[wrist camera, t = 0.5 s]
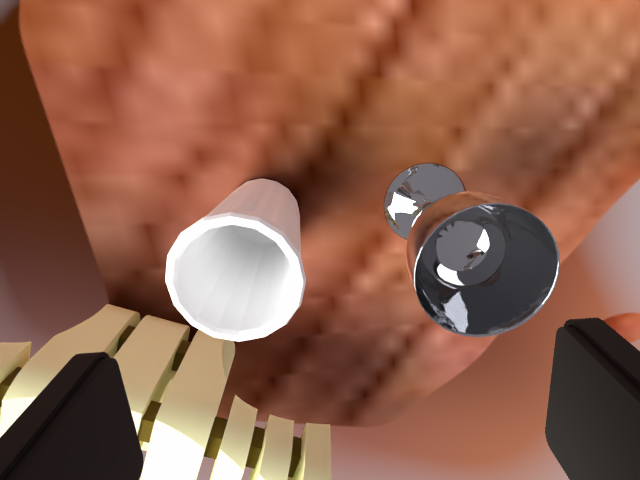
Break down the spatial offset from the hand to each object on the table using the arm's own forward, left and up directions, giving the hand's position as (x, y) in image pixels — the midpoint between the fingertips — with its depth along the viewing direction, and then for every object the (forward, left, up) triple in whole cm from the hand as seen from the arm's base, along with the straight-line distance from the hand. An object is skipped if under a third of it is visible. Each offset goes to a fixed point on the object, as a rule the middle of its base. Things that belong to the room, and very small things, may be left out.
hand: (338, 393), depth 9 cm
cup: (+4, -5, -30) cm, 30 cm away
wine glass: (+4, +9, -30) cm, 31 cm away
